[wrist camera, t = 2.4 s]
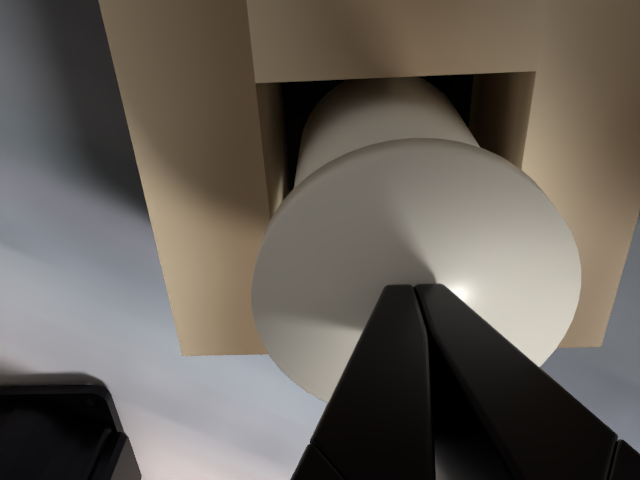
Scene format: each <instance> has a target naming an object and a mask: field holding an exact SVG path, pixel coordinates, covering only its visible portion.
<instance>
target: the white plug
mask: <svg viewBox="0 0 640 480" xmlns="http://www.w3.org/2000/svg"><path fill="white" fill-rule="evenodd" d="M433 283H440V284H443V285H445V286H446V287H447V288H448V289H450V290H451V291H452V292H453V293H454V294H455V295H456V296H458V297H459V298H460V299H461V300H462V301H463V302H465V303H466V304H467V305H468V306H469V307H470V308H471V309H473V310H474V311H475V312H476V313H477V314H478V315H480V316H481V317H482V318H483V319H484V320H485V321H487V322H488V323H489V324H490V325H491V326H492V327H493V328H495V329H496V330H497V331H498V332H499V333H500V334H502V335H503V336H504V337H505V338H506V339H507V340H508V341H510V342H511V343H512V344H513V345H514V346H515V347H517V348H518V349H519V350H520V351H521V352H522V353H523V354H525V355H526V356H527V357H528V358H529V359H530V360H532V361H533V362H534V363H535V364H536V365H537V366H538V367H540V366H541V365H542V364H543V363H544V362H545V361H546V360H547V359H548V357H549V356H550V355H551V354H552V353H553V352H554V351H555V349H556V348H557V346H558V345H559V343H560V342H561V340H562V339H563V337H564V336H565V334H566V332H567V330H568V328H569V326H570V324H571V322H572V320H573V317H574V314H575V311H576V308H577V305H578V302H579V295H580V289H581V264H580V259H579V253H578V248H577V246H576V243H575V240H574V238H573V235H572V232H571V230H570V229H569V227H568V225H567V224H566V222H565V220H564V218H563V217H562V215H561V214H560V212H559V211H558V210H557V209H556V207H555V206H554V205H553V203H552V202H551V201H550V199H549V198H548V197H547V196H546V194H545V193H544V192H543V191H542V190H541V188H540V187H539V186H538V185H537V184H536V182H535V181H534V180H533V179H532V178H530V177H529V176H528V175H527V174H526V173H525V172H523V171H522V170H521V169H520V168H519V167H517V166H516V165H514V164H512V163H511V162H509V161H508V160H506V159H505V158H503V157H501V156H499V155H497V154H494V153H492V152H490V151H488V150H486V149H483V148H481V147H480V146H479V145H478V143H477V141H476V140H475V138H474V137H473V135H472V134H471V132H470V130H469V129H468V127H467V126H466V124H465V123H464V121H463V120H462V118H461V116H460V115H459V113H458V112H457V110H456V109H455V107H454V106H453V104H452V102H451V101H450V100H449V99H448V98H447V97H446V95H445V94H444V93H443V92H442V91H440V90H439V89H438V88H437V87H436V86H434V85H433V84H431V83H430V82H428V81H426V80H424V79H422V78H420V77H418V76H413V77H389V78H366V79H348V80H346V81H344V82H342V83H341V84H339V85H337V86H336V87H335V88H333V89H332V90H330V91H329V92H328V93H327V94H326V95H325V96H324V97H323V98H322V99H321V100H320V101H319V102H318V104H317V105H316V106H315V107H314V109H313V110H312V112H311V114H310V115H309V117H308V119H307V121H306V124H305V126H304V129H303V132H302V136H301V142H300V149H299V156H298V162H297V169H296V176H295V183H294V189H293V190H292V191H291V192H290V193H289V195H288V196H287V197H286V198H285V199H284V200H283V202H282V203H281V204H280V205H279V207H278V208H277V210H276V212H275V213H274V215H273V216H272V218H271V220H270V221H269V224H268V226H267V228H266V230H265V233H264V235H263V237H262V241H261V244H260V248H259V252H258V256H257V260H256V265H255V269H254V274H253V280H252V290H251V301H252V313H253V317H254V322H255V326H256V329H257V332H258V334H259V337H260V339H261V342H262V344H263V345H264V347H265V349H266V350H267V352H268V354H269V356H270V357H271V358H272V360H273V361H274V362H275V363H276V365H277V366H278V367H279V368H280V370H281V371H282V372H284V373H285V374H286V375H287V376H288V377H289V378H290V379H291V380H292V381H293V382H294V383H296V384H297V385H298V386H300V387H301V388H302V389H304V390H305V391H307V392H308V393H310V394H312V395H313V396H315V397H317V398H319V399H320V400H323V401H325V402H327V403H328V402H329V400H330V398H331V396H332V394H333V392H334V390H335V388H336V386H337V384H338V381H339V379H340V377H341V375H342V373H343V371H344V369H345V367H346V365H347V363H348V361H349V359H350V357H351V355H352V352H353V350H354V348H355V346H356V344H357V342H358V340H359V338H360V336H361V334H362V332H363V330H364V328H365V326H366V323H367V321H368V319H369V317H370V315H371V313H372V311H373V309H374V307H375V305H376V303H377V301H378V299H379V297H380V294H381V292H382V290H383V288H384V287H385V286H386V285H395V284H410V285H412V286H413V287H415V285H417V284H433Z"/></svg>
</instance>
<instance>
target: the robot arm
mask: <svg viewBox="0 0 640 480" xmlns="http://www.w3.org/2000/svg"><path fill="white" fill-rule="evenodd" d="M95 398H96V399H95ZM617 439H618V436H617V434H616V433H615V432H613V431H612V430H611V429H610V428H609V427H608V426H607V425H605V424H604V423H603V422H602V421H601V420H600V419H598V418H597V417H596V416H595V415H594V414H593V413H592V412H590V411H589V410H588V409H587V408H586V407H585V406H583V405H582V404H581V403H580V402H579V401H578V400H577V399H575V398H574V397H573V396H572V395H571V394H570V393H568V392H567V391H566V390H565V389H564V388H563V387H562V386H560V385H559V384H558V383H557V382H556V381H555V380H553V379H552V378H551V377H550V376H549V375H548V374H547V373H545V372H544V371H543V370H542V369H541V368H540V367H538V366H537V365H536V364H535V363H534V362H533V361H532V360H530V359H529V358H528V357H527V356H526V355H525V354H523V353H522V352H521V351H520V350H519V349H518V348H517V347H515V346H514V345H513V344H512V343H511V342H510V341H508V340H507V339H506V338H505V337H504V336H503V335H502V334H500V333H499V332H498V331H497V330H496V329H495V328H493V327H492V326H491V325H490V324H489V323H488V322H487V321H485V320H484V319H483V318H482V317H481V316H480V315H478V314H477V313H476V312H475V311H474V310H473V309H471V308H470V307H469V306H468V305H467V304H466V303H465V302H463V301H462V300H461V299H460V298H459V297H458V296H456V295H455V294H454V293H453V292H452V291H451V290H450V289H448V288H447V287H446V286H445V285H443V284H440V283H433V284H417V285H415V287H413V286H412V285H410V284H395V285H386V286H385V287H384V288H383V290H382V292H381V294H380V297H379V299H378V301H377V303H376V305H375V307H374V309H373V311H372V313H371V315H370V317H369V319H368V321H367V323H366V326H365V328H364V330H363V332H362V334H361V336H360V338H359V340H358V342H357V344H356V346H355V348H354V350H353V352H352V355H351V357H350V359H349V361H348V363H347V365H346V367H345V369H344V371H343V373H342V375H341V377H340V379H339V381H338V384H337V386H336V388H335V390H334V392H333V394H332V396H331V398H330V400H329V402H328V404H327V406H326V408H325V410H324V413H323V415H322V417H321V419H320V421H319V423H318V425H317V427H316V429H315V431H314V433H313V435H312V437H311V440H310V444H309V445H307V447H306V449H305V451H304V453H303V455H302V457H301V459H300V462H299V464H298V466H297V468H296V470H295V472H294V474H293V475H292V477H291V479H290V480H640V454H639V453H638V452H637V451H636V450H635V449H633V448H632V447H631V446H630V445H629V444H628V443H627V442H625V441H624V440H618V441H617ZM0 480H141V473H140V470H139V467H138V464H137V461H136V458H135V455H134V452H133V449H132V446H131V443H130V440H129V437H128V436H127V435H126V434H125V432H124V431H123V428H122V425H121V422H120V419H119V416H118V413H117V410H116V407H115V404H114V401H113V398H112V396H111V393H110V392H109V390H107V389H106V388H105V387H102V386H100V385H61V386H10V387H0Z"/></svg>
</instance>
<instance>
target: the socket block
mask: <svg viewBox="0 0 640 480" xmlns="http://www.w3.org/2000/svg"><path fill="white" fill-rule="evenodd" d="M98 1H99V5H100V10H101V14H102V18H103V22H104V26H105V31H106V35H107V39H108V43H109V48H110V52H111V56H112V60H113V64H114V69H115V73H116V77H117V81H118V86H119V90H120V94H121V98H122V102H123V107H124V111H125V115H126V119H127V124H128V128H129V132H130V136H131V140H132V145H133V149H134V153H135V157H136V162H137V166H138V170H139V174H140V178H141V183H142V187H143V191H144V195H145V200H146V204H147V208H148V212H149V216H150V221H151V225H152V229H153V233H154V238H155V242H156V246H157V250H158V254H159V259H160V263H161V267H162V271H163V276H164V280H165V284H166V288H167V292H168V297H169V301H170V305H171V309H172V314H173V318H174V322H175V326H176V330H177V335H178V339H179V343H180V347H181V352H182V356H202V355H248V354H268V352H267V350H266V349H265V347H264V345H263V344H262V342H261V339H260V337H259V334H258V332H257V329H256V326H255V322H254V317H253V313H252V301H251V290H252V280H253V274H254V269H255V265H256V260H257V256H258V252H259V248H260V244H261V241H262V237H263V235H264V233H265V230H266V228H267V226H268V224H269V221H270V220H271V218H272V216H273V215H274V213H275V212H276V210H277V208H278V207H279V205H280V204H281V203H282V202H283V200H284V199H285V198H286V197H287V196H288V195H289V193H290V181H289V169H288V157H287V145H286V133H285V121H284V109H283V97H282V85H281V82H297V81H320V80H343V79H366V78H389V77H413V76H436V75H459V74H473V84H472V94H471V105H470V115H469V126H468V129H469V130H470V132H471V134H472V135H473V137H474V138H475V140H476V141H477V143H478V145H479V146H480V147H481V148H483V149H486V150H488V151H490V152H492V153H494V154H497V155H499V156H501V157H503V158H505V159H506V160H508V161H509V162H511V163H512V164H514V165H516V166H517V167H519V168H520V169H521V170H522V171H523V172H525V173H526V174H527V175H528V176H529V177H530V178H532V179H533V180H534V181H535V182H536V184H537V185H538V186H539V187H540V188H541V190H542V191H543V192H544V193H545V194H546V196H547V197H548V198H549V199H550V201H551V202H552V203H553V205H554V206H555V207H556V209H557V210H558V211H559V212H560V214H561V215H562V217H563V218H564V220H565V222H566V224H567V225H568V227H569V229H570V230H571V232H572V235H573V238H574V240H575V243H576V246H577V248H578V253H579V259H580V264H581V289H580V295H579V302H578V305H577V308H576V311H575V314H574V317H573V320H572V322H571V324H570V326H569V328H568V330H567V332H566V334H565V336H564V337H563V339H562V340H561V342H560V343H559V345H558V346H557V348H568V347H601V345H602V342H603V338H604V335H605V331H606V328H607V324H608V321H609V317H610V314H611V310H612V307H613V303H614V300H615V296H616V293H617V289H618V286H619V282H620V279H621V275H622V272H623V268H624V265H625V261H626V258H627V254H628V251H629V247H630V244H631V240H632V237H633V233H634V230H635V226H636V223H637V219H638V216H639V212H640V0H98Z"/></svg>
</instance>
